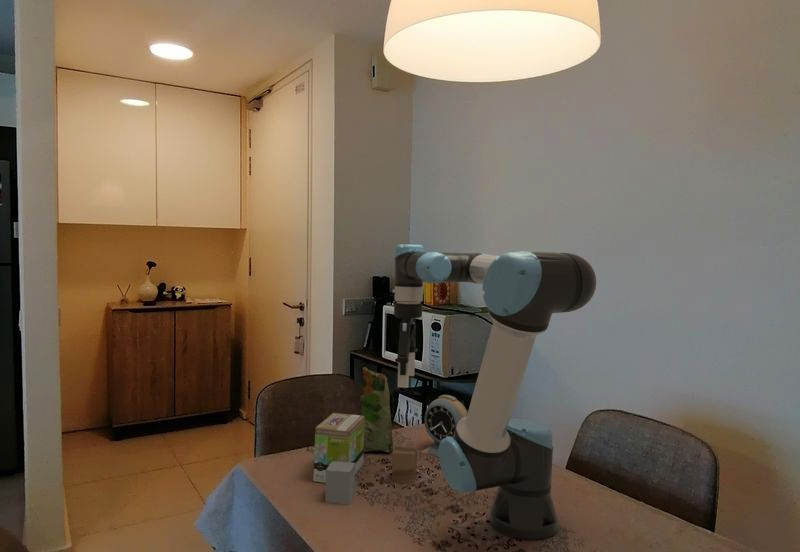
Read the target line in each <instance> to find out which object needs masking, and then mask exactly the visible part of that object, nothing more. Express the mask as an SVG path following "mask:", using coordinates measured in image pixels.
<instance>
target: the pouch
mask: <svg viewBox="0 0 800 552" xmlns="http://www.w3.org/2000/svg"><path fill="white" fill-rule="evenodd" d="M362 373H363V377H362V379H363V380H362V381H363V385H361V390H363V394H361V395H360V403H361V411H360V413H361V416H365V426H364V452H363V453H368V452H384V453H392V452H393V450H394V441H393V427H392V426H393V425H392V419H391V417H392V416H391V414H392V413H391V407H390V401H391V400H390V399H391V396H390V395H391V394H390V389H389V385H388V378H387V376H386V375H385V374H383V373H377V372H375V370H374V369H373V371H372V370H371V369H370V370H369V369H368V368H367V367H366V366H364V367H363V368H362Z"/></svg>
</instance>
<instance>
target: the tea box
mask: <svg viewBox="0 0 800 552" xmlns="http://www.w3.org/2000/svg"><path fill="white" fill-rule="evenodd" d="M364 426H365V416H361V415H358V414H348V413H346V414H345V413H339V412H338V413H337V412H332V413H331V414H330V415H329V416H327V417H326V418H325V419H324V420H323V421H322V422H320V423H319V424H318V425H317V426H315V431H314V455H313V457H314V458H313V461H314V462H313V482H317V483H324V484H326V469H327V468H328V466H329V465H330V464H331V462H332V461H337V462H350V463H355V475H356V474H357V473H358V472H359V471H360V470H361V468H362V467H363V465H364V453H365V452H364Z"/></svg>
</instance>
